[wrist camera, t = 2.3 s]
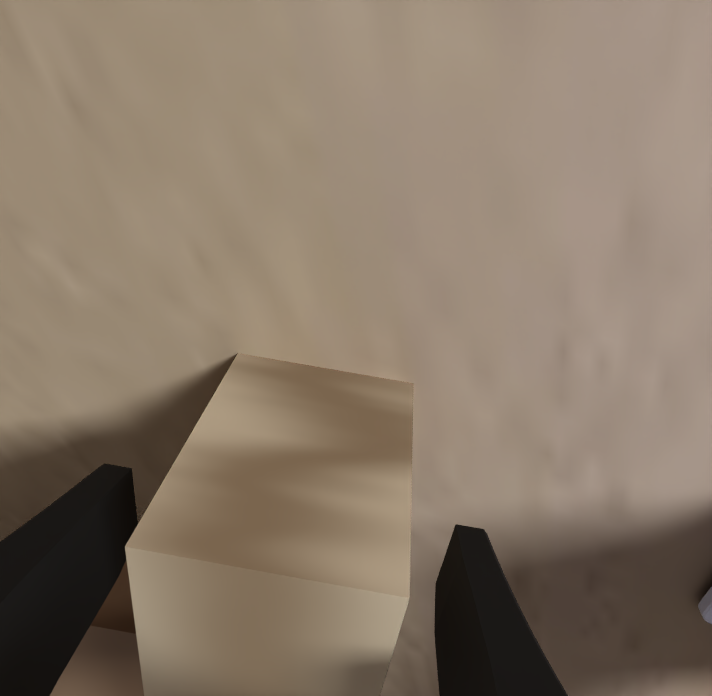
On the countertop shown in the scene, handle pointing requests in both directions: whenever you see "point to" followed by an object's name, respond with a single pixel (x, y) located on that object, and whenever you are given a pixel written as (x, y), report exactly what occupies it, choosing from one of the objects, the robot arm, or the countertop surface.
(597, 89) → the countertop surface
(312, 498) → the beech block
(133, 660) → the walnut block
